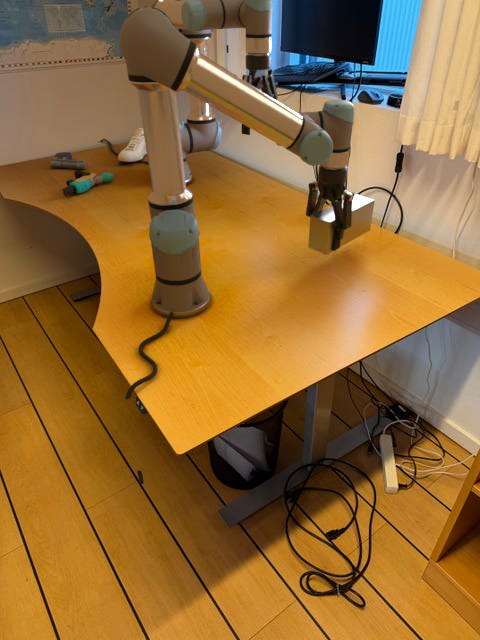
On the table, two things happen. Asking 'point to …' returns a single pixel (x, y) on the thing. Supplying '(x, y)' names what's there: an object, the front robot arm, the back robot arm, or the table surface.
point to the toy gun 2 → (85, 181)
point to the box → (325, 225)
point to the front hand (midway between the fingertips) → (325, 244)
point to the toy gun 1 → (66, 161)
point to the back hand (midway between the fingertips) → (257, 129)
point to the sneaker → (134, 148)
